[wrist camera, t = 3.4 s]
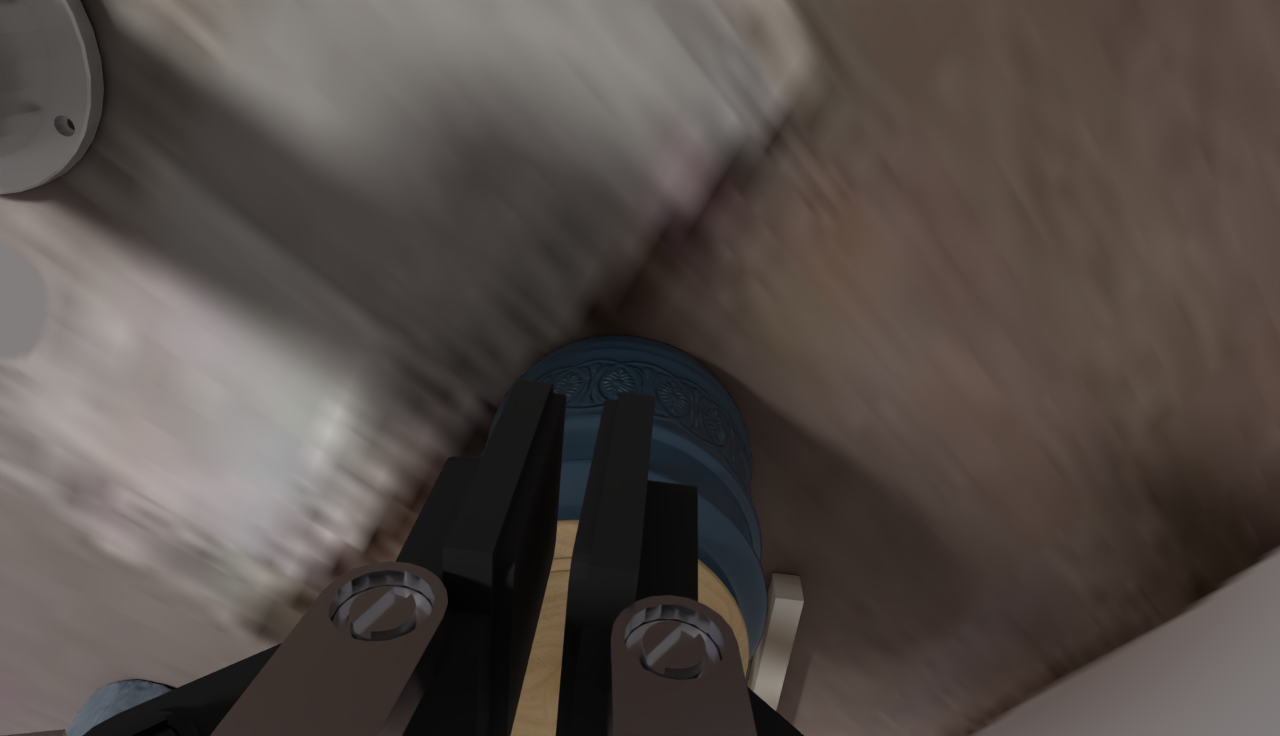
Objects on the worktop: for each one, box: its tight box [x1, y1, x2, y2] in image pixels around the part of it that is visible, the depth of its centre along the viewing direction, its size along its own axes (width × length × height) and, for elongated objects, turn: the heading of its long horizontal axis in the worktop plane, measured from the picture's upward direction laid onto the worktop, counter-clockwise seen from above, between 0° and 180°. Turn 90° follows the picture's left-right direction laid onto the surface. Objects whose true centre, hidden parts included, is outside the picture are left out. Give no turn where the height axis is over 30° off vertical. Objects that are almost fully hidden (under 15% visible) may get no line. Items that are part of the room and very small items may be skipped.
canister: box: [480, 335, 768, 736], centre depth 34 cm, size 13×13×18 cm
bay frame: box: [747, 573, 804, 711], centre depth 48 cm, size 20×21×2 cm
